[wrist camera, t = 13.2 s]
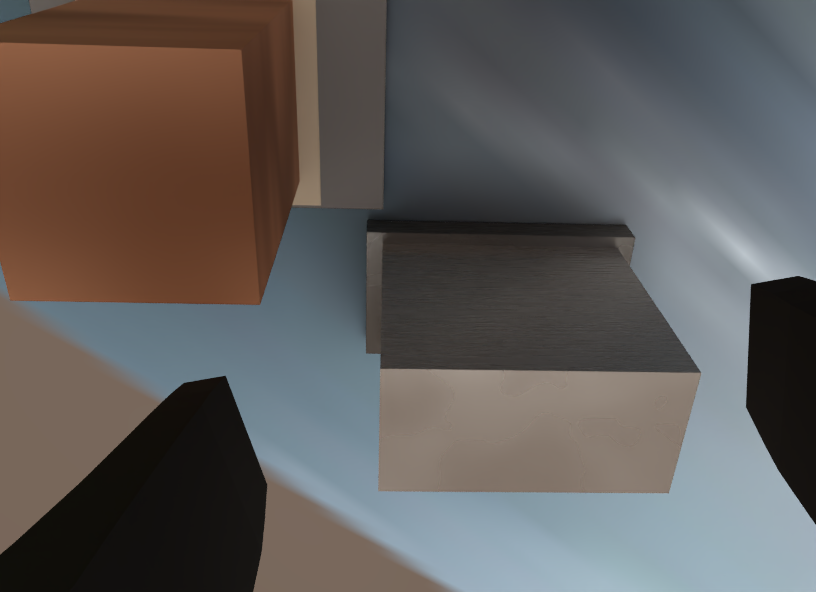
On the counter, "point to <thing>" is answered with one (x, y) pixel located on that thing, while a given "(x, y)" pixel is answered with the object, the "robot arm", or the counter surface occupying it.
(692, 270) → the counter surface
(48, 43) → the terracotta block
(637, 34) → the counter surface
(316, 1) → the pad
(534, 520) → the counter surface
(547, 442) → the block
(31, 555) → the robot arm
